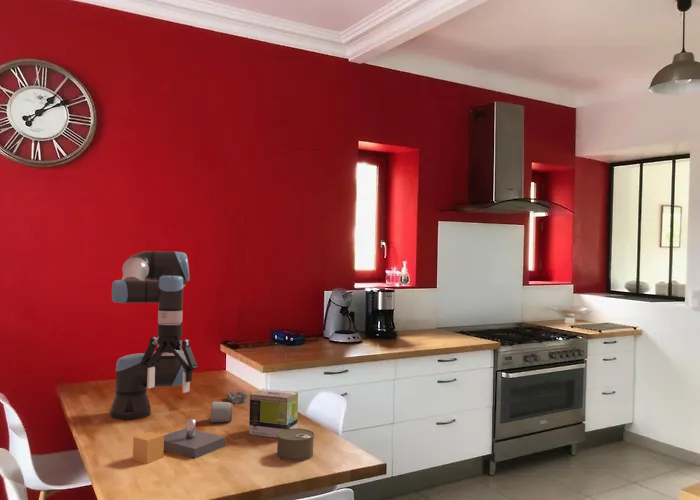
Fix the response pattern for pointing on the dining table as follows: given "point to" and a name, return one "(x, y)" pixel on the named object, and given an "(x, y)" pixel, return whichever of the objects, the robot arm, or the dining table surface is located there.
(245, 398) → the egg carton
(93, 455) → the dining table surface
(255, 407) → the tea box
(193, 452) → the dark gray slab
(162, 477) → the dining table surface
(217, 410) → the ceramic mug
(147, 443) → the orange toy cube
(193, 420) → the post
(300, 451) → the can
